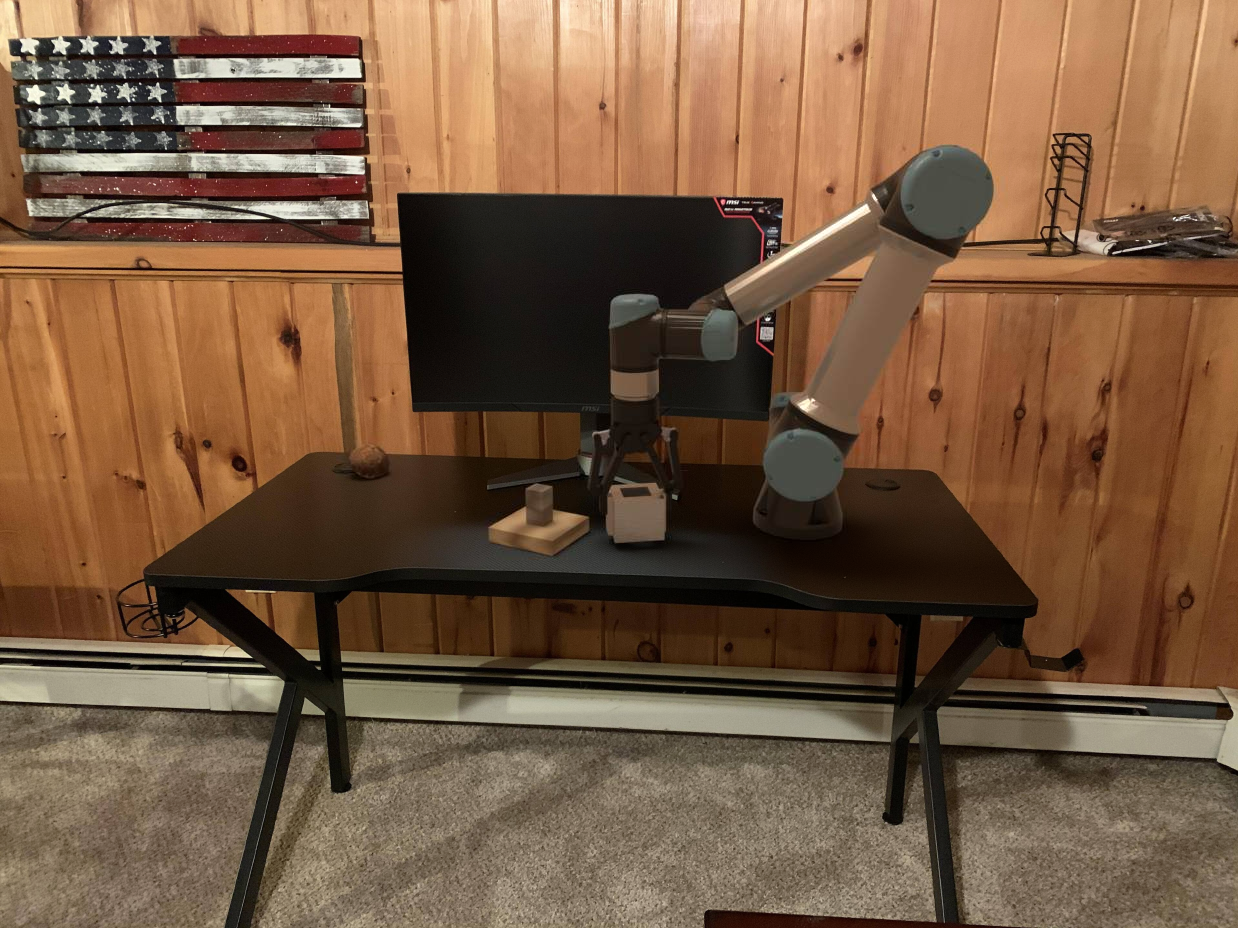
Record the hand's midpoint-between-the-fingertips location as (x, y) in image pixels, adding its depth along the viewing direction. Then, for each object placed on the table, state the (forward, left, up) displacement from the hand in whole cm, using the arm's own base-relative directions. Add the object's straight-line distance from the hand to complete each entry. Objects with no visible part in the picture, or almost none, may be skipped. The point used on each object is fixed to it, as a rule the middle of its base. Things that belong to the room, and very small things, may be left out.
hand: (636, 530), depth 151 cm
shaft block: (+15, +6, -2) cm, 16 cm away
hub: (0, 0, 0) cm, 0 cm away
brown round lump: (+61, -5, -2) cm, 61 cm away
